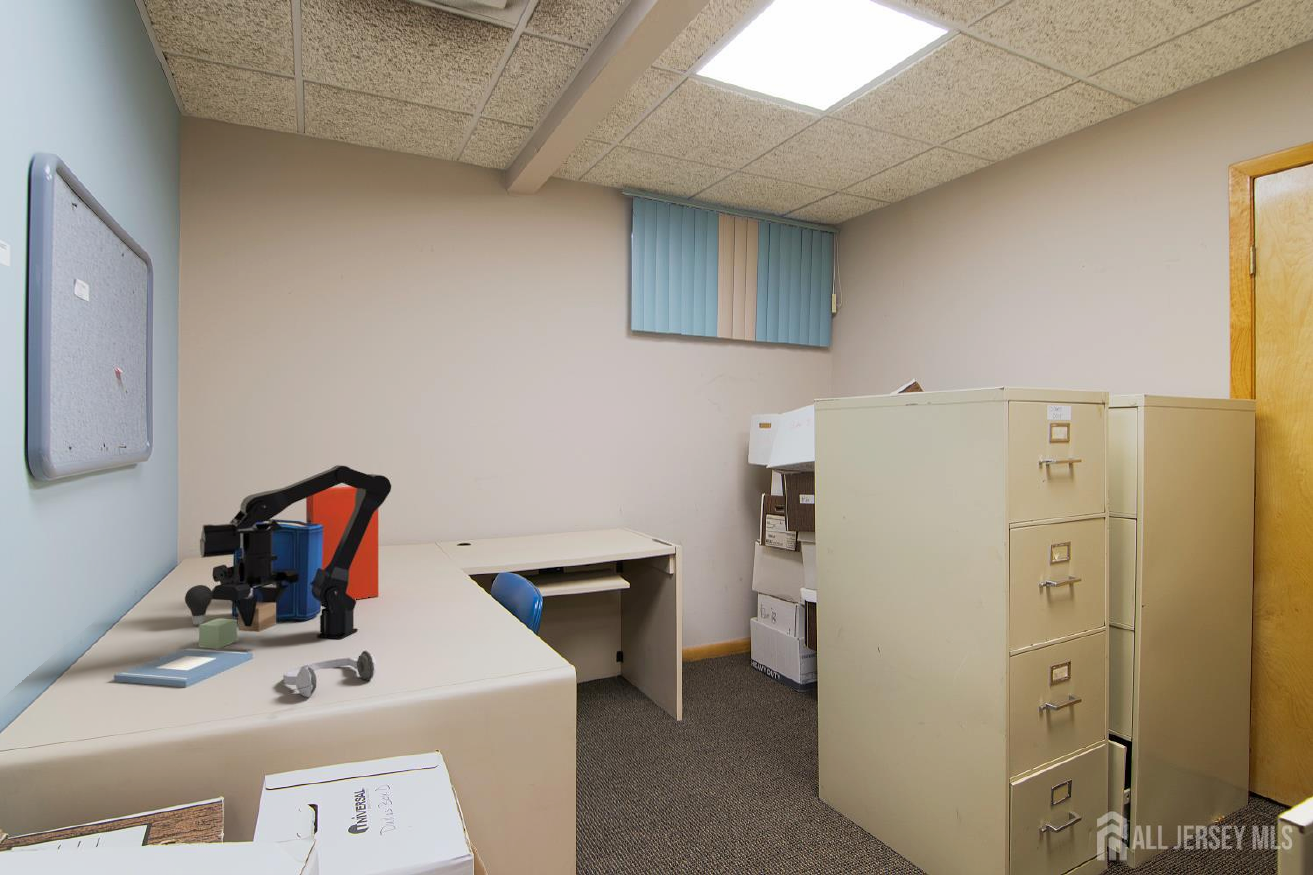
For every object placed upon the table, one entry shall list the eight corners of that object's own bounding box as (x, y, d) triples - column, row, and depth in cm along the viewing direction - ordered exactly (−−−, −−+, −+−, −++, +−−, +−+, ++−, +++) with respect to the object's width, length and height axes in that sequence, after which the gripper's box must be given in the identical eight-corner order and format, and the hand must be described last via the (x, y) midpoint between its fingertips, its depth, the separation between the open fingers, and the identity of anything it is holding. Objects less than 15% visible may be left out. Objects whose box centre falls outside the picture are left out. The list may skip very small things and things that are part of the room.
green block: (236, 641, 150) (236, 619, 150) (218, 648, 145) (218, 625, 145) (217, 639, 151) (217, 618, 151) (199, 647, 146) (199, 624, 146)
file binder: (306, 600, 185) (306, 488, 185) (369, 591, 196) (369, 485, 196) (313, 606, 179) (313, 490, 179) (378, 596, 190) (378, 487, 190)
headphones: (393, 681, 124) (348, 672, 137) (391, 650, 124) (346, 644, 137) (294, 710, 111) (255, 697, 124) (292, 675, 111) (253, 666, 124)
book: (326, 615, 171) (326, 519, 171) (309, 622, 164) (310, 523, 164) (249, 612, 173) (249, 518, 173) (229, 619, 166) (230, 521, 166)
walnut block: (276, 624, 146) (276, 602, 146) (258, 631, 141) (258, 608, 141) (256, 623, 146) (256, 601, 146) (238, 630, 142) (238, 607, 142)
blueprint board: (252, 658, 138) (252, 652, 138) (186, 687, 123) (186, 680, 123) (187, 653, 141) (187, 647, 141) (114, 681, 125) (114, 674, 125)
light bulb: (180, 629, 158) (180, 588, 158) (190, 623, 163) (190, 583, 163) (207, 628, 159) (207, 587, 159) (216, 621, 165) (216, 582, 165)
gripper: (258, 543, 154) (257, 609, 154) (188, 558, 136) (188, 633, 136) (300, 545, 152) (300, 612, 152) (235, 560, 134) (235, 636, 134)
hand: (257, 622), depth 144 cm, fingers closed on walnut block, 5 cm apart
